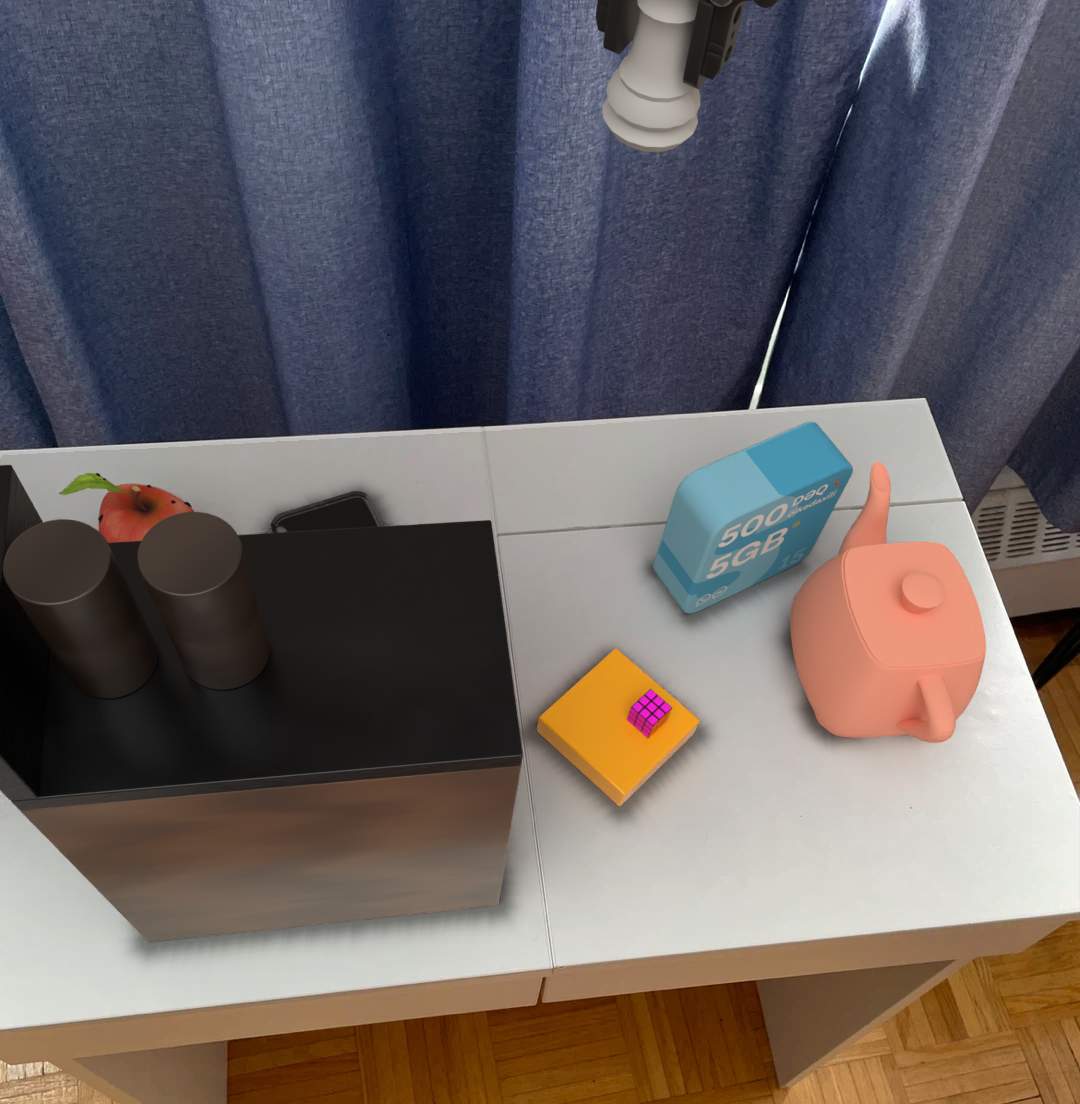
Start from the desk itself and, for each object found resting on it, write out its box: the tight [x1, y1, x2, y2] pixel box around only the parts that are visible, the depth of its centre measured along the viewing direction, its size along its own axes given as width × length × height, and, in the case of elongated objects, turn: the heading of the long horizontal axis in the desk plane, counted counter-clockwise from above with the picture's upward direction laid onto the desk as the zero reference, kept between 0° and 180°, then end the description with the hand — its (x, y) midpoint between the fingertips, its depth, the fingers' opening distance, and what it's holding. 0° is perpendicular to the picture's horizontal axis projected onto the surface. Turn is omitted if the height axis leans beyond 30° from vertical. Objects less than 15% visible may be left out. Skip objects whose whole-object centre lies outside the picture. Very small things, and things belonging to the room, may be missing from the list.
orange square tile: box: [536, 648, 701, 807], centre depth 75 cm, size 8×8×4 cm
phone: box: [270, 490, 385, 533], centre depth 79 cm, size 8×1×15 cm
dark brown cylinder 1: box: [3, 518, 158, 699], centre depth 46 cm, size 4×4×8 cm
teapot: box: [789, 461, 987, 744], centre depth 75 cm, size 20×12×12 cm, turn 8°
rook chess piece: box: [602, 0, 701, 153], centre depth 47 cm, size 4×4×8 cm
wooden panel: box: [19, 765, 522, 943], centre depth 62 cm, size 22×13×23 cm, turn 97°
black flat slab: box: [0, 464, 524, 811], centre depth 48 cm, size 22×13×7 cm, turn 97°
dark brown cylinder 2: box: [137, 511, 270, 690], centre depth 46 cm, size 4×4×8 cm
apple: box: [57, 472, 196, 543], centre depth 75 cm, size 8×7×10 cm
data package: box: [653, 421, 854, 614], centre depth 78 cm, size 12×4×12 cm, turn 120°
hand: (660, 58), depth 48 cm, fingers closed on rook chess piece, 3 cm apart
